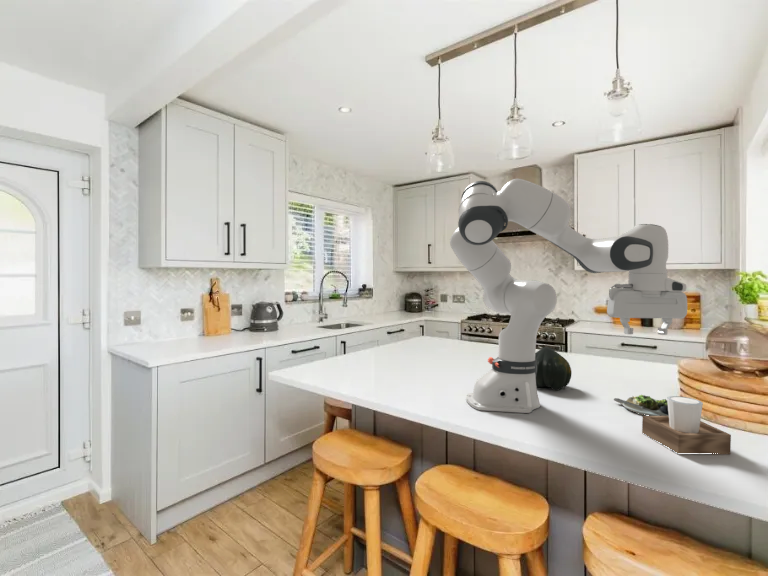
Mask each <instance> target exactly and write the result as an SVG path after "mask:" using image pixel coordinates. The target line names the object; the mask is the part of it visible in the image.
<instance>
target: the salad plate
mask: <svg viewBox="0 0 768 576" xmlns="http://www.w3.org/2000/svg"><path fill="white" fill-rule="evenodd" d="M613 401H614V402H617V403H619V404H620V405H622V406H623V407H624V408H625V409H627V410H629V411H630V412H632V411H633V413H634V412H636V413H635V414H637V413H640V414H645V415H649V416H669V414H668V403H667V399H666V398H665V399H655V398H652V397H651V396H650V395H645V394H639V395H637V396H636V395H635V396H631V397H628V398H627V399H626V400H624V399H621V398H618V397H617V398H616V397H615V398H613ZM640 414H639V415H640ZM645 415H644V416H645Z"/></svg>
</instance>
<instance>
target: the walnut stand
mask: <svg viewBox="0 0 768 576" xmlns="http://www.w3.org/2000/svg"><path fill="white" fill-rule="evenodd" d="M641 421H642V422H641V423H642V424H641V425H642V426H641V427H642V428H641V434H643V433H644V434H646V435H647V436H646V435H645V436H646V437H648V436H649V437H651V438H652V439H651V438H650V439H651V440H653V439H654V440H656V441H658V442H660V443H662V444H663V445H665V446H667V447H669V448H670V449H672V450H674V451H675V452H677V453H712V454H711V455H731V448H732V447H731V445H732V444H731V443H732V442H731V441H732V434H731V433H727V432H725V431H723V430H721V429H719V428H717V427H715V426H712V425H710V424H708V423H705V422H704V421H701V420H700V427H699V432H698V433H685V432H681V431H677V430H674V429H672V428H671V427H670V425H669V416H645V415H642V420H641ZM644 434H643V435H644ZM649 437H648V438H649ZM654 440H653V441H654ZM656 441H655V442H656ZM658 442H657V443H658ZM663 445H662V446H663ZM713 453H714V454H713ZM715 453H716V454H715ZM717 453H718V454H717Z"/></svg>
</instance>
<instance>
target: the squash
mask: <svg viewBox="0 0 768 576" xmlns="http://www.w3.org/2000/svg"><path fill="white" fill-rule="evenodd" d="M535 359H536V360H537V376H536V387H537V388H543V387H544V388H545V387H548V388H551V389H552V390H555V391H558V390H561V389H562V388H565V387H567V386H568V385H569V383H570V381H571V378H572V368H571V364H570V363H569V362H568V360H567V359H566V358H564V356H563V355H561V354H560V353H558V351H555V350H554V349H552V348H551V347H549V346H547V345H546V346H544V347H542V348H540V349H539V350H537V351H535Z"/></svg>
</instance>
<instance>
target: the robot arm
mask: <svg viewBox="0 0 768 576" xmlns="http://www.w3.org/2000/svg"><path fill="white" fill-rule="evenodd" d="M571 218H572V208H571V207H570V204H569V202H568V201H566V199H565V198H563V197H562V196H560V195H559V194H557V193H555V192H553V191H552V190H550V189H548V188H546V187H543V186H542V185H540V184H537V183H535V182H532V181H529V180H526V179H522V178H513V179H511V180H508V181H507V183H505V184H504V185H503V187H502V188H500V190H499V191H498V190H497V188H496V187H495V186H494V185H493V184H492V183H490V182H488V181H485V180H476V181H474V182H472V183H470V184H469V185H468V186H467V187H466V188H465V189H464V191H463V192H462V194H461V198H460V203H459V208H458V221H457V223H458V224H457V225H458V227H457V228H456V229H455V230H454V231H453V232H452V234H451V236H450V239H449V244H450V247H451V250H452V251H453V253H454V254H455V256H456V257H457V259H458V260H459V262H460V263H461V264H462V265H463V267H464V268H465V269H466V270H467V271H468V272H469V273H470V274H471V276H473V278H474V279H476V281H477V282H478V283H479V285H480V286H481V288H482V289H483V293H482V300H483V303H484V305H485V306H486V307H487V308H488V309H490V310H492V311H493V312H497V313H500V314H507V315H510V319H509V322H508V325H507V326H506V327H504V328H503V329H501V330H500V332H499V333H498V356H497V357H496V358H493V357H492V356H490V357H488V359H487V362H488V364H490V365H492V366H491V368H492V369H490V370H489V371H487V372H486V373H485V374H483V375H481V376H480V377H479V378H478V379H476V381H475V382H474V387H473V392H471V393H467V395H466V397H465V398H466V399H465V400H466V402H467V404H468V405H469V406H470V407H472V408H473V409H475V410H478V411H489V412H503V413H505V412H506V413H523V414H524V413H525V414H531V412H532V411H534V410H536V409H538V408H540V407H541V403H540V402H541V401H540V398H539V394H538V387H536V376H537V360H536V359H535V353H536V352H537V351H536V347H537V336H538V332H539V328H540V327H541V324H542V322H543V321H544V319H545V318H546V317H548V316H549V315H550V314H551V313H552V312H553V311H554V309H555V308H556V306H557V303H558V302H557V300H558V299H557V298H558V296H557V292H556V290H555V288H554V287H553V286H552V285H551V284H549V283H546V282H543V281H539V280H533V279H532V280H530V279H517V278H514V277H513V276H512V275H511V274H510V273H511V271H512V270H511V269H512V262H511V261H510V259H509V258H508V257H507V255H506V254H505V253H504V252H503V251H502V249H500V247H499V246H498V245H497V244H496V243H495V241H494V240H495V238H497V236H498V235H499V234H500V233H502V232H503V231H505V230H506V229H507V227H508V224H509V222H512V223H515V224H518V225H520V226H521V227H523V228H525V229H527V230H528V231H530V232H532V233H534V234H536V235H538V236H540V237H542V238H543V239H545V240H547V241H548V242H549V243H551V244H553V245H554V246H556V247H558V248H559V249H561V250H562V251H564V252H565V253H567V254H568V255H570V256H571V257H573V259H575V260H576V262H577V263H578V265H579V266H580V267H581V268H582V269H583V270H585V271H586V272H588V273H590V274H599V273H600V274H601V273H617V272H628V283H622V284H621V283H615V284H613V285H612V286H610V288H609V289H608V300H607V307H606V313H607V315H608V316H609V317H611V318H617V319H618V318H619V321H620V324H621V325H622V327H623V334H624V335H634V328H633V327H631V326H630V324H629V322H631V321H630V319H661V322H662V324H661V326H660V327H657V335H660V336H667V335H668V330H669V327H671V325H672V323H673V319H677V320H678V319H685V317H686V316H687V315H688V296H687V294H686V293H685V291H687V284H686V283H684V282H681V281H678V280H675V279H672V278H669V277H668V268H667V261H668V258H669V239H668V233H667V230H666V229H665V227H663V226H661V225H659V224H653V223H652V224H651V223H649V224H648V223H642V224H641V223H640V224H635V225H634V226H633V227H632V228H631V229H630V230H628V231H625V232H623V233H622V234H619V235H617V236H612V237H606V238H589V237H586V236H584V235H583V234H581V233H580V232H578V231H576V229H573V228H572V226H571V227H570V226H569V223H570V221H571Z"/></svg>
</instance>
